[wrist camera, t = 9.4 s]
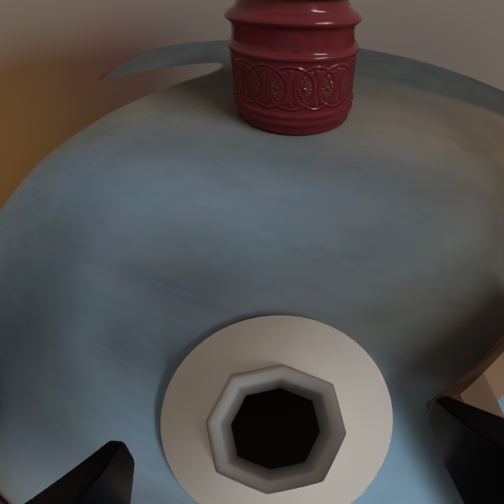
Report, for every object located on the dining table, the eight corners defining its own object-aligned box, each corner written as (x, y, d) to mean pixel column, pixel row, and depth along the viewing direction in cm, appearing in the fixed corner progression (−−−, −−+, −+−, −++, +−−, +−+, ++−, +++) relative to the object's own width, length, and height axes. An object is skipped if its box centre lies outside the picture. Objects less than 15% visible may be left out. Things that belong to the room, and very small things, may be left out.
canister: (240, 83, 35) (226, -41, 21) (339, 84, 34) (347, -39, 19) (229, 139, 28) (203, -37, 14) (361, 141, 27) (384, -32, 12)
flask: (199, 477, 13) (109, 524, 4) (218, 357, 17) (157, 274, 8) (334, 490, 12) (405, 554, 4) (345, 367, 16) (420, 293, 7)
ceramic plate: (216, 549, 11) (213, 554, 10) (138, 364, 17) (133, 361, 17) (420, 459, 13) (425, 459, 12) (326, 287, 19) (328, 282, 19)
